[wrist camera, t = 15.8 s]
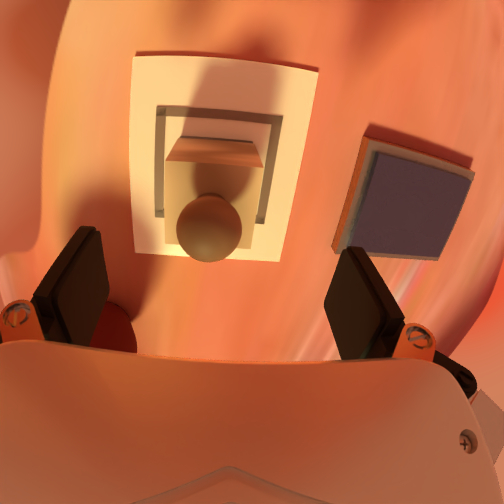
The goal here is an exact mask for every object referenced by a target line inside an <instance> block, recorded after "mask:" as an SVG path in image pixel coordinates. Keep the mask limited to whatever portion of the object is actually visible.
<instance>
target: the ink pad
mask: <svg viewBox="0 0 504 504" xmlns="http://www.w3.org/2000/svg"><path fill="white" fill-rule="evenodd" d="M474 175H475V172H473V171H472V170H470V169H469V168H467V167H464V166H461V165H459V164H456V163H453V162H450V161H448V160H445V159H442V158H439V157H436V156H433V155H430V154H427V153H424V152H420V151H417V150H414V149H411V148H407V147H404V146H400V145H397V144H393V143H389V142H386V141H382V140H378V139H374V138H370V137H366V136H363V138H362V142H361V146H360V150H359V154H358V158H357V162H356V165H355V169H354V173H353V176H352V180H351V184H350V187H349V191H348V194H347V198H346V201H345V204H344V208H343V211H342V214H341V218H340V221H339V224H338V227H337V231H336V234H335V237H334V240H333V243H332V246H331V247H332V249H333V251H334V253H335V254H341V252H342V250H343V249H346V248H347V247H348V246H357V247H362V248H363V249H364V250H365V252H366V253H367V255H368V256H373V257H388V258H404V259H418V260H433V261H438V259H439V257H440V255H441V253H442V251H443V249H444V247H445V245H446V243H447V241H448V239H449V236H450V234H451V232H452V230H453V228H454V225H455V223H456V221H457V218H458V216H459V214H460V211H461V209H462V207H463V204H464V202H465V199H466V197H467V194H468V191H469V189H470V186H471V183H472V181H473V178H474Z"/></svg>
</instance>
